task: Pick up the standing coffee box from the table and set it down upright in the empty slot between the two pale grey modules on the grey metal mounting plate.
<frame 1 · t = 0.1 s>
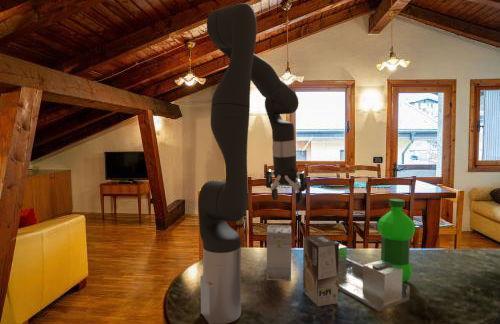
hand: (286, 201, 109), 22 cm above the kitchen counter, tool pointing down, fingers open, 8 cm apart
coffee box: (319, 297, 90), on the kitchen counter
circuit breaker: (279, 271, 107), on the kitchen counter
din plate: (353, 284, 97), on the kitchen counter
plastic bottle: (394, 281, 100), on the kitchen counter
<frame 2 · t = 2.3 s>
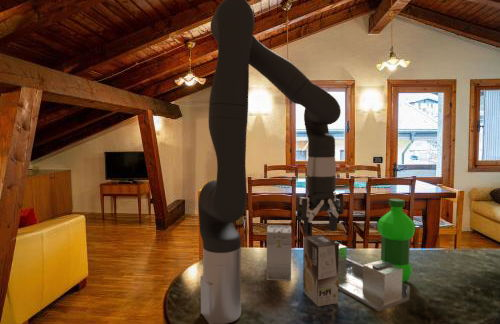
hand: (320, 232, 88), 18 cm above the kitchen counter, tool pointing down, fingers open, 8 cm apart
nothing on the kitchen counter moved.
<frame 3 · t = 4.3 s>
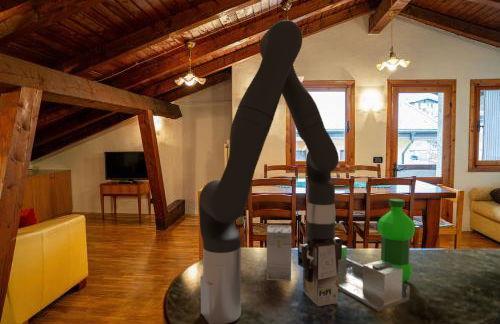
hand: (319, 278, 89), 5 cm above the kitchen counter, tool pointing down, fingers closed on coffee box, 7 cm apart
coffee box: (319, 297, 90), on the kitchen counter, touching gripper
everything else where it was.
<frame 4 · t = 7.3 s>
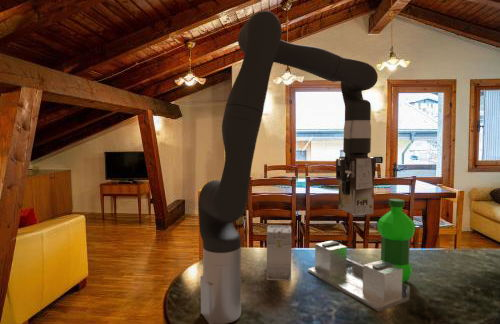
hand: (355, 193, 95), 28 cm above the kitchen counter, tool pointing down, fingers closed on coffee box, 7 cm apart
coffee box: (355, 212, 96), point 22 cm above the kitchen counter, touching gripper
everything else where it was.
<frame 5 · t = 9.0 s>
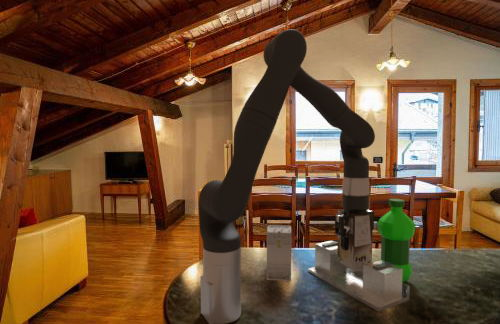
hand: (354, 247, 96), 11 cm above the kitchen counter, tool pointing down, fingers closed on coffee box, 7 cm apart
coffee box: (353, 265, 97), point 6 cm above the kitchen counter, touching gripper
everything else where it was.
when the fingers open (7 cm above the kitchen counter, at t = 10.5 s): coffee box stays where it is, resting on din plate.
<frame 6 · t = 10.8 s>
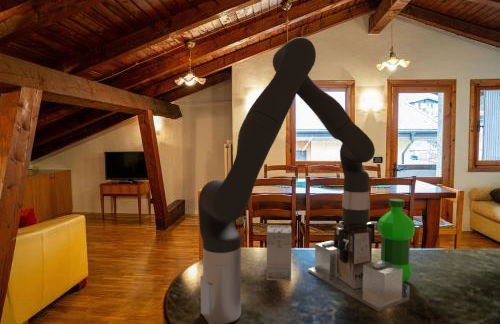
hand: (354, 259, 97), 8 cm above the kitchen counter, tool pointing down, fingers open, 8 cm apart
coffee box: (353, 281, 97), point 1 cm above the kitchen counter, touching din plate
everything else where it was.
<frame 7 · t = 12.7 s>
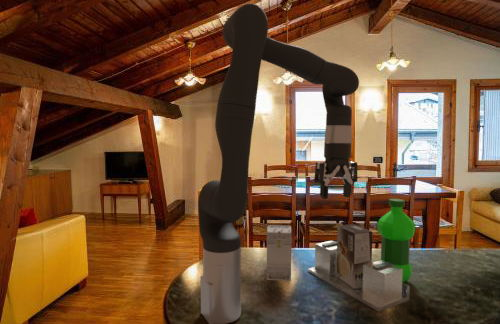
hand: (335, 197, 94), 26 cm above the kitchen counter, tool pointing down, fingers open, 8 cm apart
nothing on the kitchen counter moved.
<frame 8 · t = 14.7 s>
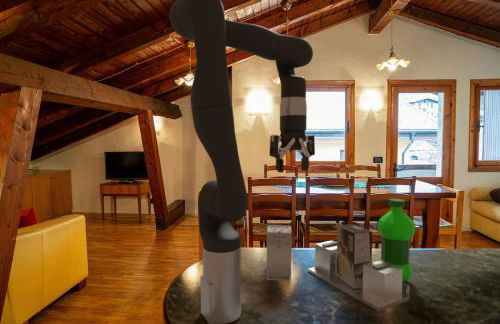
hand: (292, 171, 93), 34 cm above the kitchen counter, tool pointing down, fingers open, 8 cm apart
nothing on the kitchen counter moved.
at the end: coffee box inside the target area on the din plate (0.2 cm from its centre), point 0.8 cm above the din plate's base; coffee box tilted 0°; the gripper is holding nothing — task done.
